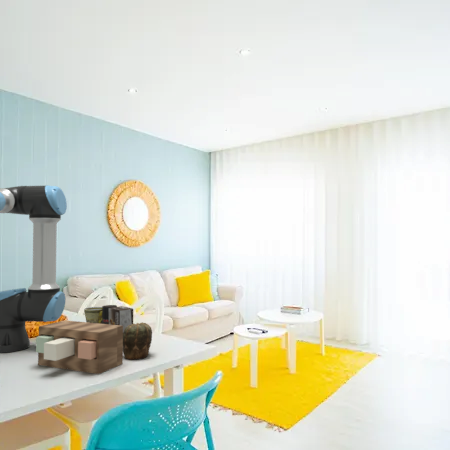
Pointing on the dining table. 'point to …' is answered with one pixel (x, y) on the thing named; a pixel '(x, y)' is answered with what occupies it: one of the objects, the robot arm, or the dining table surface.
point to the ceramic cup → (93, 314)
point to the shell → (137, 341)
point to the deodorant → (106, 313)
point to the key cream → (59, 348)
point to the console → (103, 333)
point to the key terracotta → (87, 349)
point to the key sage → (42, 342)
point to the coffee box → (121, 316)
